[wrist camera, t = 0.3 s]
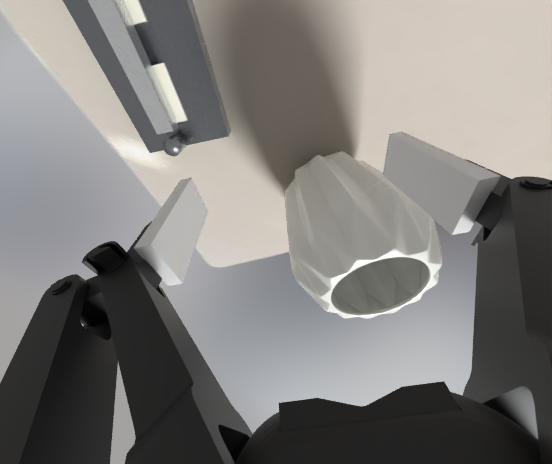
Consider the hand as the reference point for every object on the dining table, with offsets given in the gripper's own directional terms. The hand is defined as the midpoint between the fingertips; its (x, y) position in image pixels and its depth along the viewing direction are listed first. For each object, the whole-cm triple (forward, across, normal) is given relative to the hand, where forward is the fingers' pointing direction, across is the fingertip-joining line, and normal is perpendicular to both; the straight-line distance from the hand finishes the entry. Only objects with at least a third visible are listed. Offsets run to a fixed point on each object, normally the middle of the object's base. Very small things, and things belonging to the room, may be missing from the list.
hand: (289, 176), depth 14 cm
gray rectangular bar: (+22, -16, +8) cm, 28 cm away
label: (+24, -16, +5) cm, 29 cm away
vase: (+27, +8, -16) cm, 33 cm away
